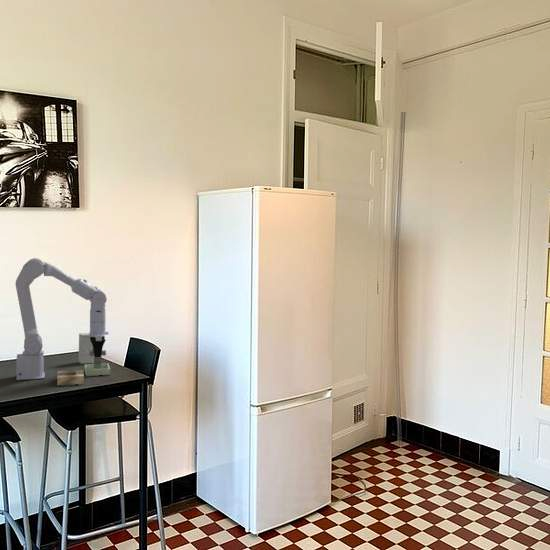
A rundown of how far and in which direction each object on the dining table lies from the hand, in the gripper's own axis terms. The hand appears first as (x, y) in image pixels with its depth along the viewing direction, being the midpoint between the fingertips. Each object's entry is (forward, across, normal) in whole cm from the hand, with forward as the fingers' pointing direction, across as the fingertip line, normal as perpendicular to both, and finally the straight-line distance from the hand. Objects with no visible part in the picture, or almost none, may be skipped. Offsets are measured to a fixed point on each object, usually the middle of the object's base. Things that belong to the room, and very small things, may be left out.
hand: (97, 356), depth 228 cm
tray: (+7, 0, 0) cm, 7 cm away
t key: (+5, 0, 0) cm, 5 cm away
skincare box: (+7, +19, +3) cm, 20 cm away
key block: (+7, -11, +10) cm, 16 cm away
